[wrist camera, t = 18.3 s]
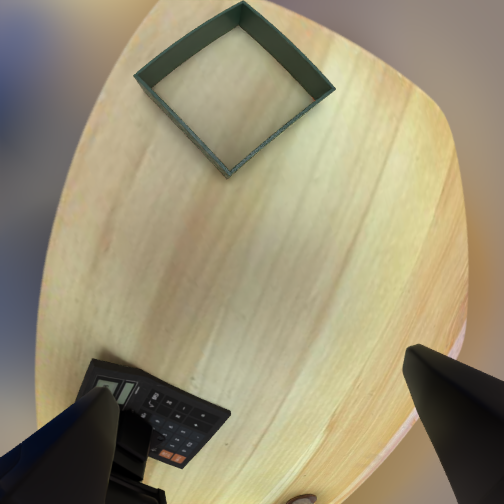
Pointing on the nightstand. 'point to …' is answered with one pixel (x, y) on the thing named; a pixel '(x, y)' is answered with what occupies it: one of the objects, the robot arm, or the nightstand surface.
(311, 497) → the coaster
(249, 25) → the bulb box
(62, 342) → the nightstand surface
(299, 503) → the light bulb
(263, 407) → the nightstand surface
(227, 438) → the nightstand surface
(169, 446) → the calculator
